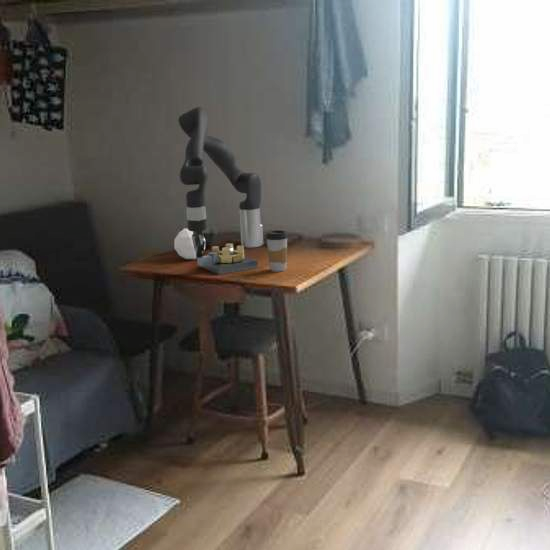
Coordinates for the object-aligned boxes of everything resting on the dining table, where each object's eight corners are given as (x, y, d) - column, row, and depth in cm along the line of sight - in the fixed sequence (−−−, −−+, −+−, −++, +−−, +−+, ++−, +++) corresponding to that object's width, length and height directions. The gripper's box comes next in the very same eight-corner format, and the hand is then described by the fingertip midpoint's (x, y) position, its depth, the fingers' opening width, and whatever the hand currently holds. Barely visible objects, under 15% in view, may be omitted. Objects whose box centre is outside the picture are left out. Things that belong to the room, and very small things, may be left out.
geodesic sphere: (162, 245, 312) (172, 222, 304) (187, 240, 322) (197, 217, 313) (180, 268, 306) (190, 245, 298) (205, 262, 316) (216, 240, 307)
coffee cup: (276, 266, 289) (275, 229, 286) (293, 268, 284) (291, 231, 281) (263, 270, 283) (261, 233, 280) (279, 273, 278) (278, 234, 274)
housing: (237, 260, 303) (236, 241, 301) (257, 267, 289) (256, 248, 287) (200, 266, 295) (199, 247, 293) (219, 274, 280) (218, 254, 279)
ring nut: (231, 254, 299) (230, 242, 298) (250, 258, 290) (249, 246, 289) (190, 263, 286) (189, 250, 285) (208, 268, 277) (207, 254, 276)
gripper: (183, 216, 286) (186, 258, 290) (190, 221, 274) (194, 266, 278) (202, 214, 288) (205, 256, 293) (210, 219, 276) (213, 263, 281)
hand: (199, 261), depth 286 cm, fingers closed
